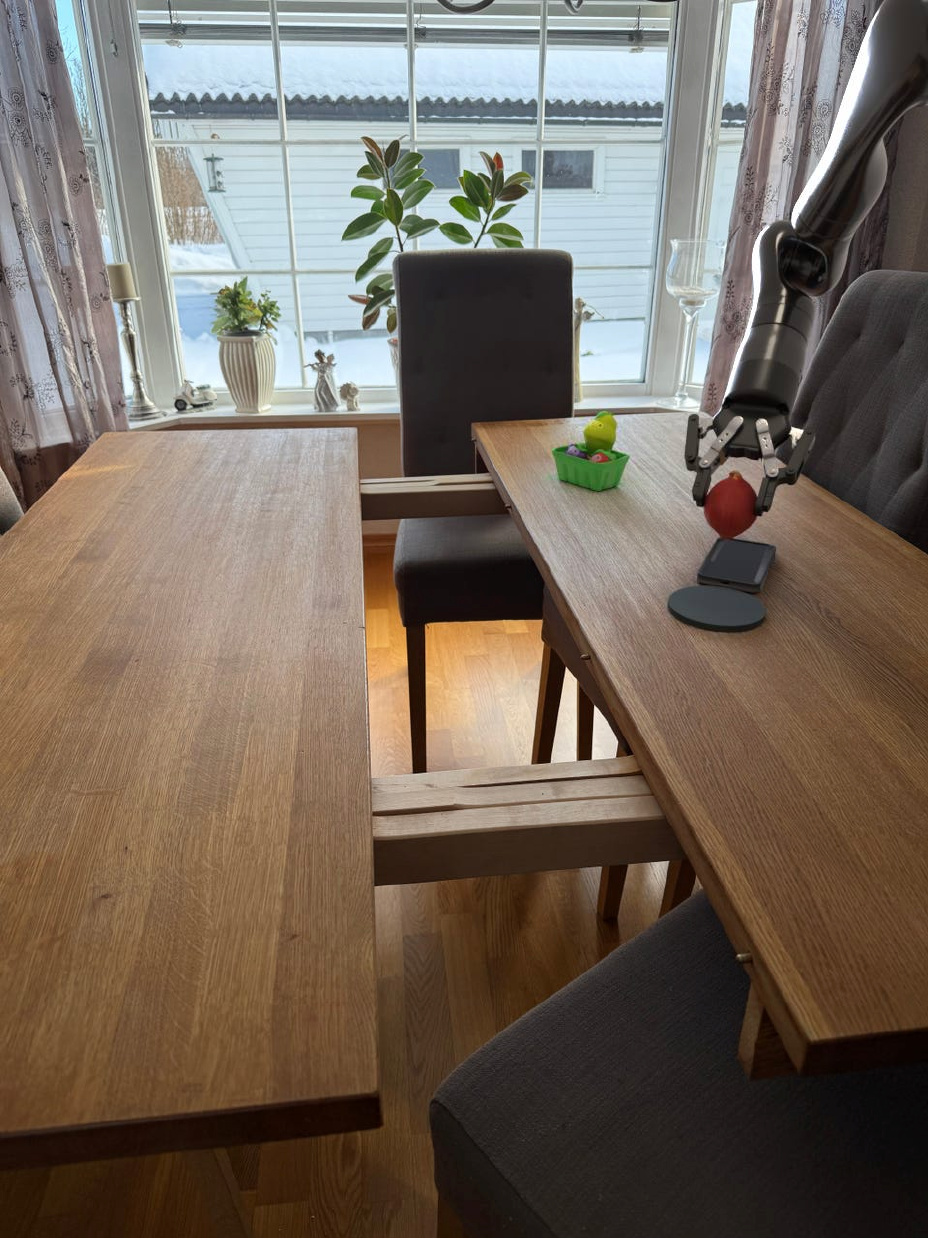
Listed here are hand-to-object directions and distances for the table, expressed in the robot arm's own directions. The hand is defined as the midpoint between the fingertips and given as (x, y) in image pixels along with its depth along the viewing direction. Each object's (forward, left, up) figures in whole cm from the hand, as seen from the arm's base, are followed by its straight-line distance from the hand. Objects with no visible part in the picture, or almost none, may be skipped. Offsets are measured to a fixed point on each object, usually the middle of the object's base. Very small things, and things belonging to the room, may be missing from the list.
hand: (728, 507), depth 95 cm
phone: (-3, -16, -13) cm, 20 cm away
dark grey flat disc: (0, -2, -13) cm, 13 cm away
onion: (0, -2, -4) cm, 5 cm away
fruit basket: (+20, -48, -13) cm, 53 cm away
